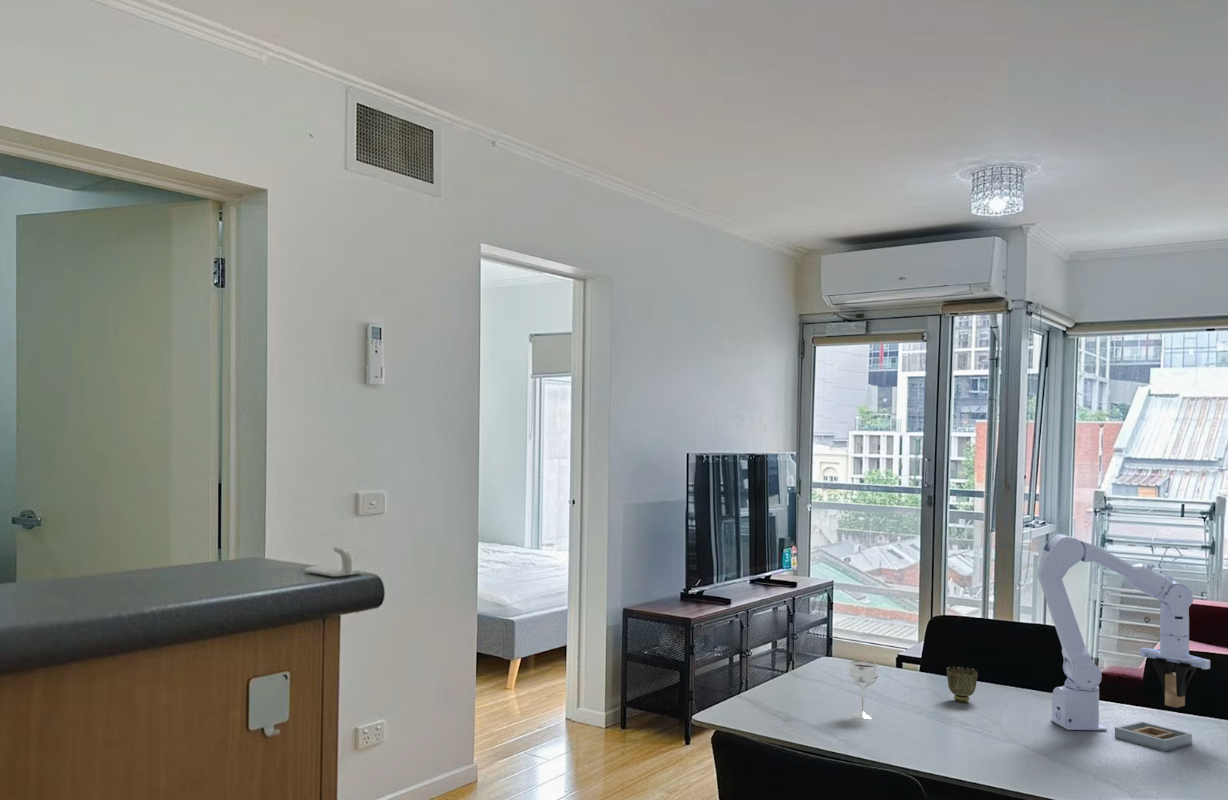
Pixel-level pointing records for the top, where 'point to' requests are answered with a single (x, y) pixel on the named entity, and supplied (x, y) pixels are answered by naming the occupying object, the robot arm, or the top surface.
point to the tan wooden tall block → (1172, 691)
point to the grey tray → (1153, 736)
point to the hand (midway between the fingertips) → (1174, 694)
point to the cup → (961, 682)
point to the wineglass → (863, 680)
